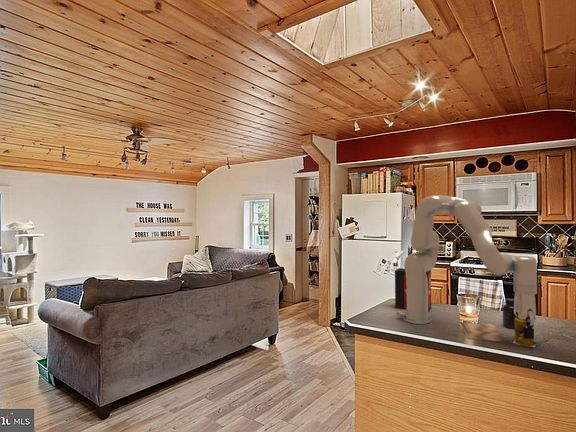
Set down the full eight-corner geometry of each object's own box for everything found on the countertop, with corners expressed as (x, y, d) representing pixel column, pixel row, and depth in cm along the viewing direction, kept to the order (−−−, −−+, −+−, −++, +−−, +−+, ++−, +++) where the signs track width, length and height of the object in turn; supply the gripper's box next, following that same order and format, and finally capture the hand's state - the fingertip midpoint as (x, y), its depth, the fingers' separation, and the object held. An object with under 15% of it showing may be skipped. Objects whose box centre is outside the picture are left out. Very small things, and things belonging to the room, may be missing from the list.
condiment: (512, 343, 140) (512, 312, 140) (515, 337, 147) (515, 307, 147) (535, 348, 136) (534, 315, 136) (537, 341, 142) (537, 310, 142)
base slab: (467, 338, 146) (467, 330, 146) (462, 329, 158) (462, 322, 158) (501, 341, 143) (501, 333, 143) (493, 331, 155) (493, 324, 154)
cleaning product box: (395, 308, 193) (394, 270, 193) (399, 304, 201) (398, 268, 201) (428, 312, 185) (428, 272, 185) (431, 308, 193) (430, 270, 193)
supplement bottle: (523, 329, 157) (523, 301, 156) (506, 328, 158) (505, 301, 158) (517, 324, 163) (516, 298, 163) (500, 324, 165) (500, 297, 164)
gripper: (507, 284, 150) (508, 328, 150) (521, 293, 133) (521, 342, 133) (528, 284, 148) (529, 329, 148) (545, 294, 131) (545, 344, 131)
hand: (525, 335), depth 141 cm, fingers closed on condiment, 6 cm apart
